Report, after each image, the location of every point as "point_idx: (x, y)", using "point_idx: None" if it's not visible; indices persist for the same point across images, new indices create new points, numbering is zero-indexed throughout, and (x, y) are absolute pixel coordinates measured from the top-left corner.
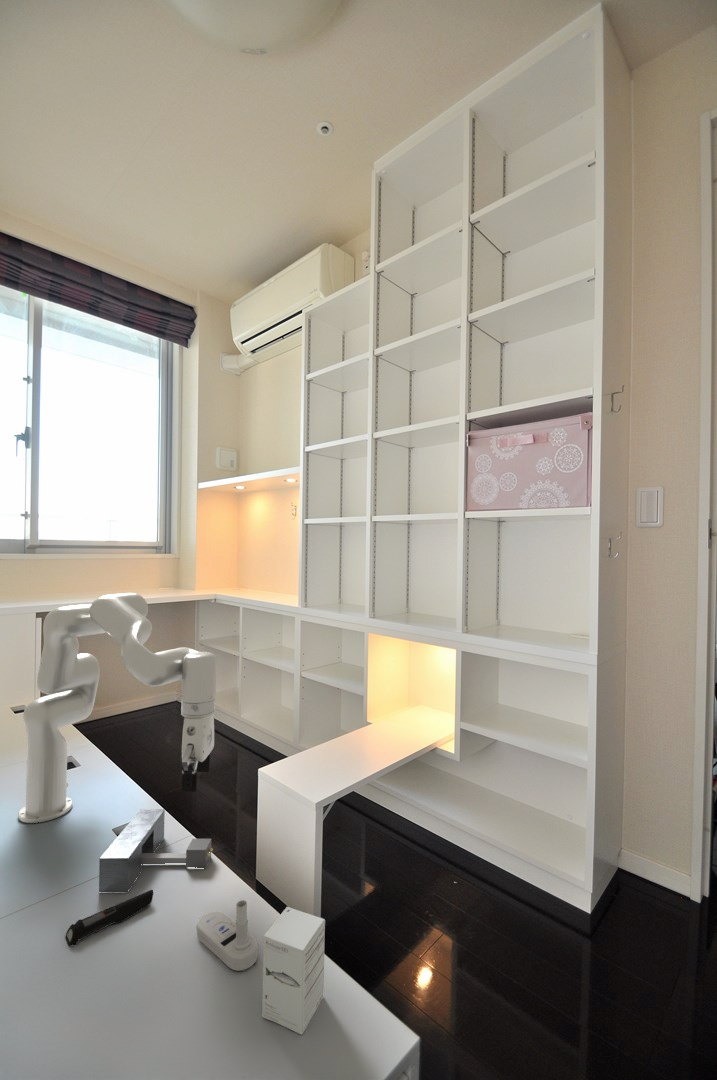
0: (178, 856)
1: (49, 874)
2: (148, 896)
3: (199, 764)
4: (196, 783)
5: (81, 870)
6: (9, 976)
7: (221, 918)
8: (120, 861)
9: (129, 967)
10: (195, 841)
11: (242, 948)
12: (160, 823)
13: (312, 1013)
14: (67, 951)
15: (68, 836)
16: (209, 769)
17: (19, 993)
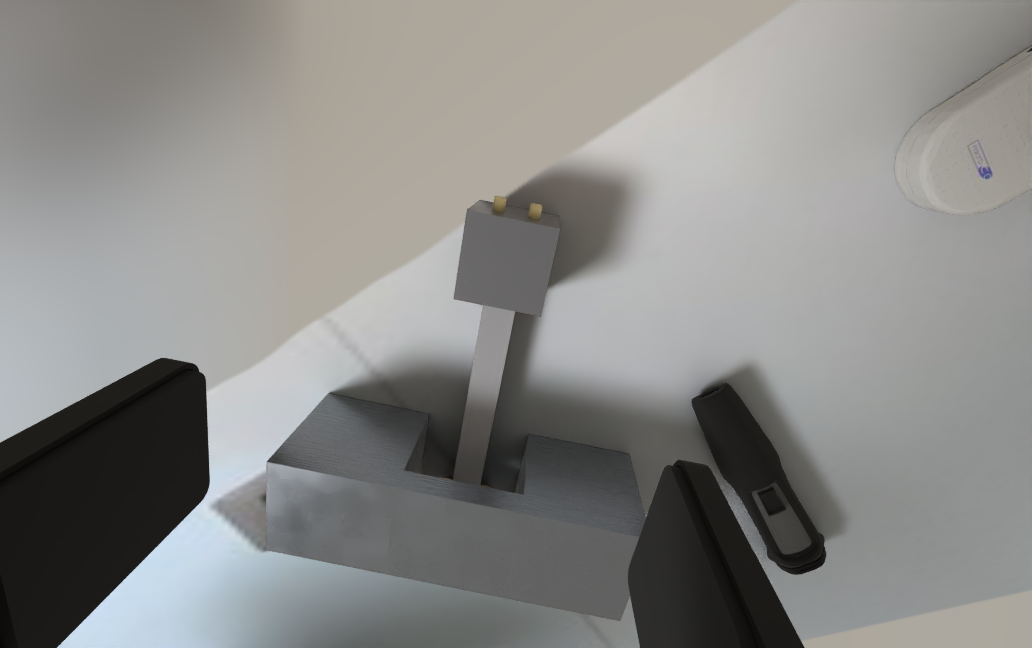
0: (500, 333)
1: (486, 643)
2: (732, 402)
3: (140, 525)
4: (732, 523)
5: None
6: (863, 625)
7: (1004, 114)
8: None
9: (980, 392)
10: (479, 284)
11: None
12: (333, 447)
13: None
14: (832, 542)
15: (303, 643)
16: (166, 365)
17: (933, 596)
